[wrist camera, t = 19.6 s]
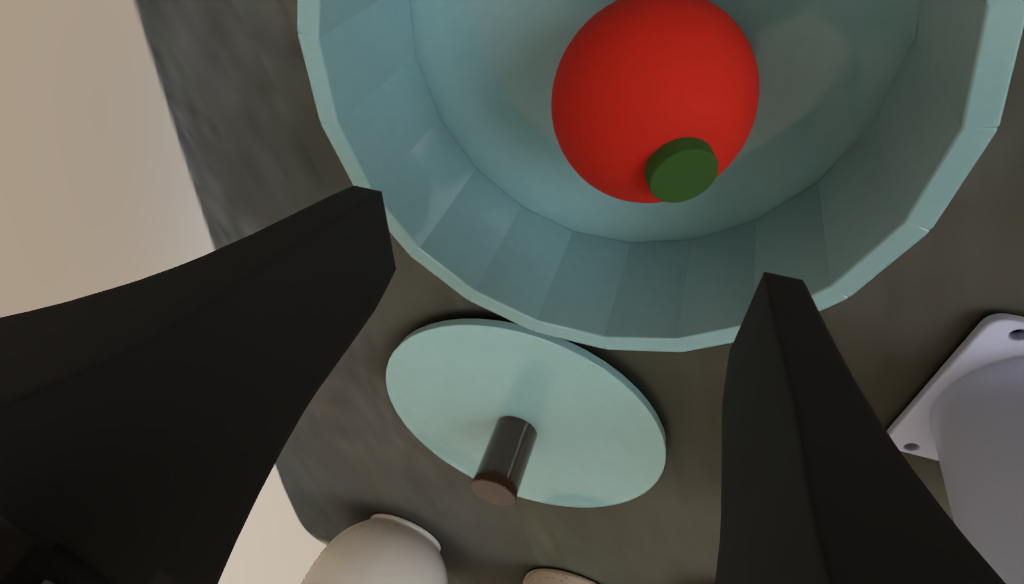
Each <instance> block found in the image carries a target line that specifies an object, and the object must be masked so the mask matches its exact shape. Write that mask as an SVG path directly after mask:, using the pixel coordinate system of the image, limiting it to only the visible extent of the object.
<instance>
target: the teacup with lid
mask: <svg viewBox="0 0 1024 584" xmlns="http://www.w3.org/2000/svg"><path fill="white" fill-rule="evenodd" d="M522 584H597V583H595V582H593V581H591V580H589V579H587V578H584V577H582V576H579V575H576V574H573V573H570V572H566V571H562V570H556V569H545V568H544V569H535V570H532V571H530V572H528V573H527V574H526V575H525V577H524V580H523V583H522Z"/></svg>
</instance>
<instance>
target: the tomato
mask: <svg viewBox="0 0 1024 584" xmlns="http://www.w3.org/2000/svg"><path fill="white" fill-rule="evenodd" d="M758 102H759V73H758V67H757V63H756V59H755V56H754V53H753V50H752V47H751V45H750V43H749V41H748V39H747V38H746V36H745V34H744V33H743V31H742V29H741V28H740V27H739V26H738V24H737V23H736V22H735V21H734V20H733V19H732V18H731V17H730V16H729V15H728V13H726V12H725V11H724V10H722V9H721V8H720V7H718V6H717V5H715V4H714V3H712V2H711V1H709V0H617V1H615V2H613V3H611V4H609V5H608V6H606V7H605V8H603V9H602V10H600V11H599V12H597V13H596V14H595V15H594V16H593V17H591V18H590V19H589V20H588V21H587V22H586V23H585V24H584V25H583V26H582V27H581V29H580V30H579V31H578V32H577V33H576V35H575V36H574V38H573V39H572V40H571V42H570V43H569V45H568V46H567V48H566V50H565V52H564V54H563V55H562V58H561V60H560V63H559V65H558V68H557V71H556V74H555V78H554V82H553V88H552V98H551V114H552V121H553V127H554V132H555V135H556V138H557V140H558V143H559V146H560V148H561V151H562V152H563V154H564V156H565V157H566V159H567V161H568V162H569V164H570V165H571V167H572V168H573V169H574V170H575V171H576V172H577V173H578V175H579V176H580V177H581V178H582V179H584V180H585V181H586V182H587V183H588V184H590V185H591V186H593V187H594V188H596V189H597V190H599V191H601V192H602V193H604V194H607V195H609V196H611V197H614V198H617V199H620V200H624V201H629V202H635V203H660V202H668V203H678V202H683V201H687V200H690V199H692V198H694V197H696V196H698V195H700V194H701V193H703V192H704V191H705V190H706V189H708V188H709V187H710V186H711V184H712V183H713V182H714V180H715V178H717V177H718V176H719V175H720V174H721V173H722V172H723V171H725V169H726V168H727V167H728V166H729V165H730V164H731V163H732V162H733V160H734V159H735V158H736V156H737V155H738V154H739V152H740V151H741V149H742V148H743V146H744V144H745V143H746V141H747V138H748V136H749V134H750V132H751V129H752V127H753V124H754V121H755V118H756V114H757V108H758Z"/></svg>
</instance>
